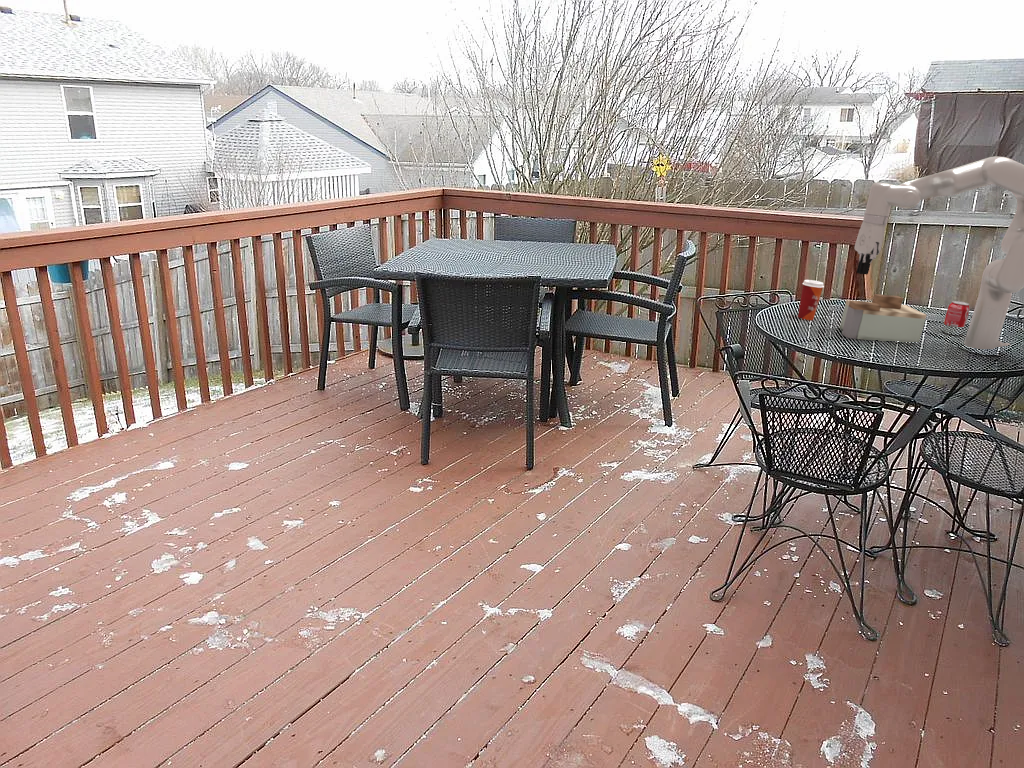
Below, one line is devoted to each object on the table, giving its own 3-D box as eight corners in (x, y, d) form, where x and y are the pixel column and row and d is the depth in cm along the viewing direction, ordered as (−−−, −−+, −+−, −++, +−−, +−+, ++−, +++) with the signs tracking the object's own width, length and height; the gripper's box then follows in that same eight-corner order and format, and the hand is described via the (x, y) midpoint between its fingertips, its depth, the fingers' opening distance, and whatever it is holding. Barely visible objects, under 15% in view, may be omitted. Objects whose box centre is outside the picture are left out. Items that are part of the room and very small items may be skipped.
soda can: (957, 332, 290) (966, 301, 286) (965, 337, 284) (975, 305, 280) (937, 330, 291) (946, 299, 287) (945, 335, 284) (955, 303, 280)
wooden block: (873, 308, 265) (875, 302, 264) (879, 311, 261) (880, 305, 260) (848, 306, 264) (849, 300, 263) (853, 309, 260) (855, 303, 260)
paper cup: (812, 322, 284) (821, 284, 279) (792, 317, 288) (800, 280, 284) (819, 319, 290) (827, 282, 285) (798, 314, 294) (806, 278, 290)
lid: (904, 309, 277) (908, 294, 275) (925, 319, 264) (929, 303, 262) (845, 304, 276) (849, 288, 274) (863, 313, 263) (867, 298, 261)
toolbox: (898, 333, 280) (905, 305, 277) (918, 344, 267) (926, 314, 263) (831, 327, 279) (838, 299, 275) (848, 338, 265) (855, 308, 262)
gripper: (854, 216, 268) (842, 268, 275) (875, 222, 254) (861, 277, 260) (875, 218, 269) (862, 270, 275) (897, 224, 255) (883, 279, 261)
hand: (862, 273), depth 268 cm, fingers closed
